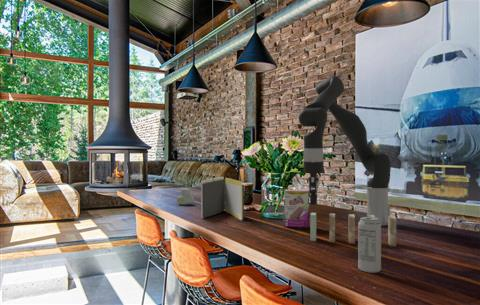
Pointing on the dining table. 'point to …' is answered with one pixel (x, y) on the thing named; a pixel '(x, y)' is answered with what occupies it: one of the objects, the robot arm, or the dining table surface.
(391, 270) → the dining table surface
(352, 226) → the domino
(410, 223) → the dining table surface
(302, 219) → the candy bar box
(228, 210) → the grey folded panel
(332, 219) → the domino
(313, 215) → the domino
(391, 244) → the domino
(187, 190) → the air freshener
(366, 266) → the energy drink can
